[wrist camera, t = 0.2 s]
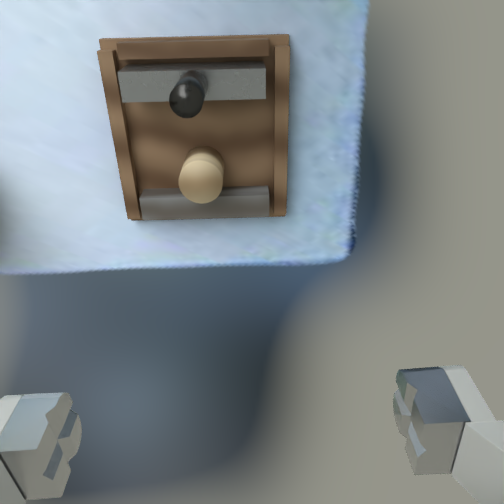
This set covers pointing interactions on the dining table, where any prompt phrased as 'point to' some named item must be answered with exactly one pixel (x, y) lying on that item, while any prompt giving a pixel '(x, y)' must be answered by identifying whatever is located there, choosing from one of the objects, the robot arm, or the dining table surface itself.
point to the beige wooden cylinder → (202, 174)
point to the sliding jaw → (192, 83)
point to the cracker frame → (201, 130)
